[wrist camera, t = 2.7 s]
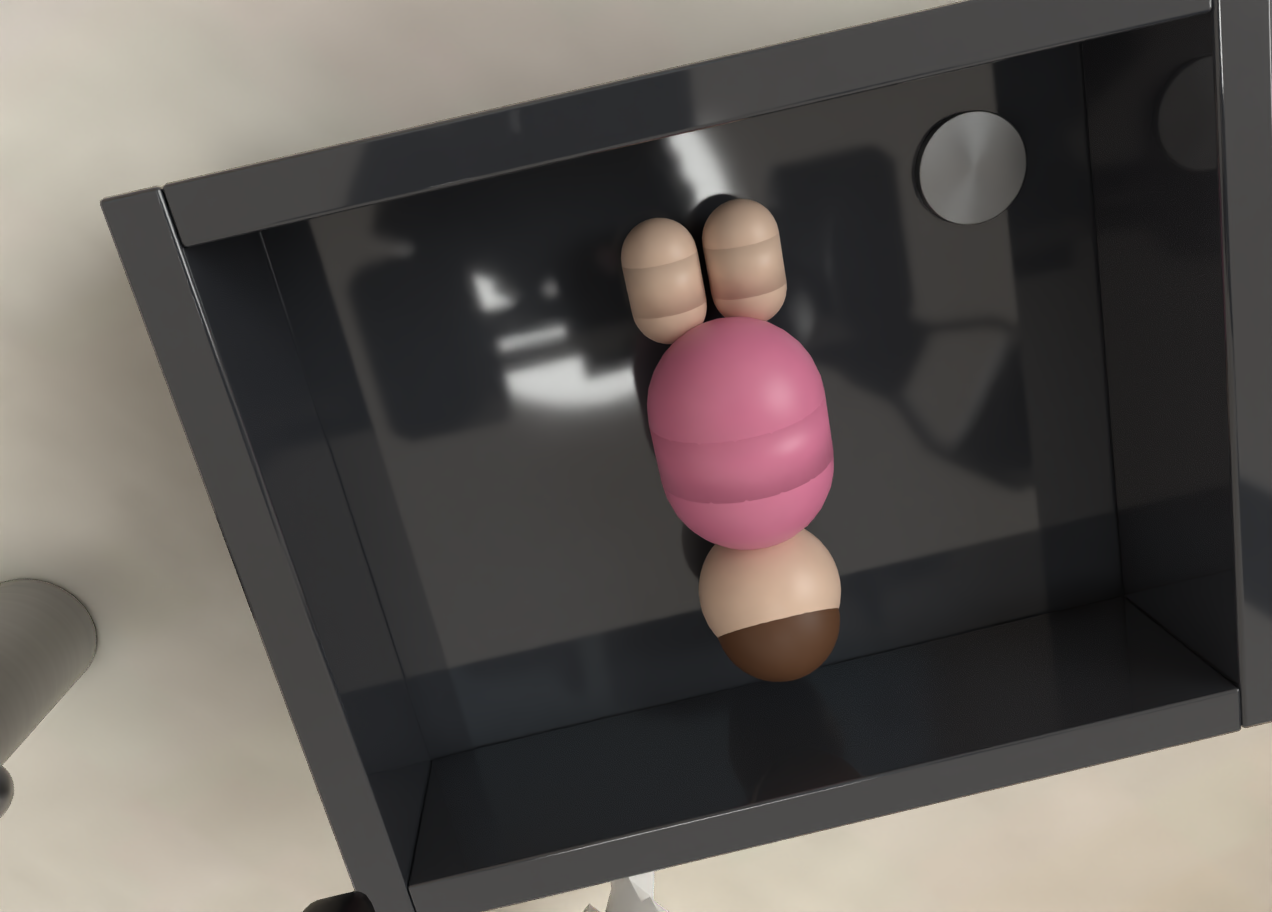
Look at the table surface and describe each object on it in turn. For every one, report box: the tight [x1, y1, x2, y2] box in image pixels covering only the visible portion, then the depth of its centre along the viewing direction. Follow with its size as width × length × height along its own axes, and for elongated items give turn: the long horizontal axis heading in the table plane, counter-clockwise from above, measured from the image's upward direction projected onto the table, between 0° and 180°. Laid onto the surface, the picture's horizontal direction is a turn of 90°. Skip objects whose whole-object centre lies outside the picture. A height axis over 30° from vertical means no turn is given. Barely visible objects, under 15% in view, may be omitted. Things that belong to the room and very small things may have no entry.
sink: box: [100, 0, 1272, 912], centre depth 16 cm, size 15×12×4 cm
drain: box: [916, 110, 1027, 225], centre depth 17 cm, size 2×2×1 cm
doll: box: [621, 199, 841, 682], centre depth 16 cm, size 8×3×3 cm, turn 12°
